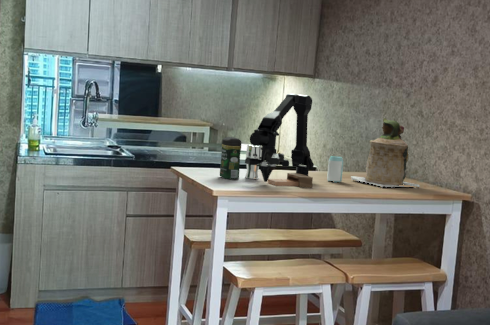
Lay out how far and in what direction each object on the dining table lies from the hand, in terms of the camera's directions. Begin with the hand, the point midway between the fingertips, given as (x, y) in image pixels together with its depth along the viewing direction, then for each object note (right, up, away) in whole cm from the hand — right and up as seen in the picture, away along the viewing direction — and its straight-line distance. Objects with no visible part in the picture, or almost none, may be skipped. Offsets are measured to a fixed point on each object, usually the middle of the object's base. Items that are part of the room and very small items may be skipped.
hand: (265, 181), depth 290 cm
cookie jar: (+59, -3, +35) cm, 68 cm away
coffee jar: (-16, +1, +12) cm, 20 cm away
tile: (+9, -2, +6) cm, 11 cm away
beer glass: (-6, +1, +18) cm, 19 cm away
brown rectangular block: (+15, -2, +7) cm, 16 cm away
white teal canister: (+34, -1, +30) cm, 45 cm away
